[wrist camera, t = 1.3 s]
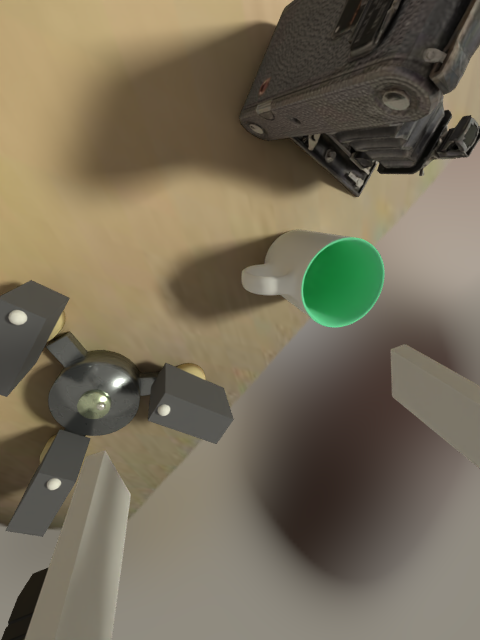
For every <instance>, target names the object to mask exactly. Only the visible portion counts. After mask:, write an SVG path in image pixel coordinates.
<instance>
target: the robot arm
mask: <svg viewBox="0 0 480 640" xmlns="http://www.w3.org/2000/svg"><path fill="white" fill-rule="evenodd" d="M391 373H392V397H394V398H395V399H396V400H397V401H398V402H400V403H401V404H402V405H403V406H404V407H406V408H407V409H408V410H409V411H410V412H412V413H413V414H414V415H415V416H417V417H418V418H419V419H420V420H421V421H423V422H424V423H425V424H426V425H427V426H428V427H430V428H431V429H432V430H433V431H435V432H436V433H437V434H438V435H439V436H441V437H442V438H443V439H444V440H445V441H447V442H448V443H449V444H450V445H451V446H453V447H454V448H455V449H456V450H458V451H459V452H460V453H461V454H462V455H463V456H465V457H466V458H467V459H468V460H470V461H471V462H472V463H473V464H474V465H476V466H477V467H478V468H479V469H480V386H479V385H477V384H475V383H473V382H471V381H470V380H468V379H466V378H464V377H462V376H461V375H459V374H457V373H456V372H454V371H452V370H450V369H448V368H447V367H445V366H443V365H441V364H440V363H437V362H436V361H434V360H432V359H431V358H429V357H427V356H425V355H423V354H422V353H420V352H418V351H416V350H414V349H413V348H411V347H409V346H407V345H406V344H405V345H402V346H399V347H396V348H393V349H391ZM130 497H131V494H130V492H129V491H128V489H127V487H126V485H125V484H124V482H123V480H122V479H121V477H120V475H119V473H118V472H117V470H116V468H115V466H114V465H113V463H112V461H111V460H110V458H109V456H108V454H107V453H106V451H105V450H104V451H101V452H98V453H95V454H93V455H90V456H87V457H86V458H85V461H84V464H83V467H82V470H81V473H80V476H79V479H78V482H77V485H76V488H75V491H74V494H73V497H72V500H71V503H70V506H69V509H68V512H67V515H66V518H65V521H64V524H63V527H62V530H61V533H60V536H59V539H58V542H57V545H56V548H55V551H54V553H53V556H52V560H51V563H50V565H49V568H46V569H44V570H41V571H39V572H36V573H34V574H33V575H32V576H31V578H30V579H29V581H28V582H27V584H26V585H25V587H24V589H23V590H22V592H21V593H20V595H19V596H18V598H17V601H16V603H15V606H14V608H13V611H12V614H11V616H10V619H9V621H8V624H9V625H8V627H6V629H5V631H4V634H3V637H2V639H1V640H111V639H112V632H113V625H114V617H115V609H116V602H117V593H118V587H119V579H120V572H121V563H122V557H123V549H124V541H125V533H126V527H127V519H128V512H129V504H130Z"/></svg>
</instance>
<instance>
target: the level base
mask: <svg viewBox="0 0 480 640" xmlns="http://www.w3.org/2000/svg"><path fill="white" fill-rule="evenodd" d="M46 348H47V349H48V350H49V351H50V352H51V353H52V354H53V355H54V356H55V357H56V358H57V359H58V360H59V361H60V363H61V364H62V365H63V366H64V369H63V371H62V372H61V374H60V375H59V377H58V378H57V380H56V381H55V383H54V384H53V386H52V388H51V390H50V393H49V397H48V403H49V408H50V411H51V413H52V415H53V417H54V418H55V420H56V421H57V422H58V423H59V424H61V425H62V426H63V427H65V430H64V431H67V432H70V433H74V434H77V435H80V436H84V437H85V436H86V435H90V436H97V435H105V434H109V433H112V432H115V431H117V430H119V429H121V428H123V427H124V426H126V425H127V424H128V423H129V422H130V421H131V420H132V419H133V418H134V416H135V414H136V413H137V410H138V407H139V401H140V396H142V395H150V392H151V386H152V384H153V383H154V381H155V379H156V378H157V376H158V374H159V373H160V372H149V373H140V372H139V370H138V369H137V367H136V366H135V365H134V363H133V362H132V361H130V360H129V359H128V358H126V357H125V356H123V355H121V354H118V353H115V352H111V351H105V350H96V351H90V352H87V351H86V350H85V348H84V347H83V346H82V345H81V344H80V343H79V341H78V340H77V339H76V338H75V337H74V336H73V334H72V333H71V332H68V333H66V334H64V335H62V336H60V337H59V338H57V339H55V340H53V341H51V342H50V343H49V344H48V345H47V346H46Z"/></svg>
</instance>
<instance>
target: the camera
mask: <svg viewBox="0 0 480 640" xmlns="http://www.w3.org/2000/svg"><path fill="white" fill-rule="evenodd" d="M479 45H480V0H294V1H293V2H291V3H290V4H289V5H288V6H286V7H285V8H284V10H283V12H282V14H281V17H280V19H279V22H278V24H277V26H276V29H275V31H274V34H273V36H272V39H271V41H270V43H269V46H268V48H267V51H266V53H265V55H264V58H263V60H262V63H261V65H260V67H259V70H258V72H257V75H256V77H255V80H254V82H253V84H252V87H251V89H250V92H249V94H248V96H247V99H246V101H245V104H244V106H243V109H242V111H241V113H240V116H239V119H240V122H241V125H242V126H243V127H244V128H245V129H246V130H247V131H248V132H250V133H251V134H253V135H254V136H256V137H258V138H261V139H264V140H268V141H269V140H277V139H284V138H290V139H292V140H293V141H294V142H295V143H296V144H297V145H298V146H299V147H301V148H302V149H303V150H304V151H305V152H306V153H307V154H309V155H310V156H311V157H312V158H313V159H314V160H315V161H317V162H318V163H319V164H320V165H321V166H322V167H323V168H325V169H326V170H327V171H328V172H329V173H330V174H331V175H333V176H334V177H335V178H336V179H337V180H338V181H339V182H341V183H342V184H343V185H344V186H345V187H346V188H347V189H349V190H350V191H351V192H352V193H353V194H354V195H355V196H357V197H359V196H360V194H361V192H362V190H363V188H364V187H365V185H366V183H367V181H368V179H369V178H370V176H371V174H372V172H373V170H374V168H375V167H376V165H377V164H378V162H379V163H380V164H379V167H378V170H377V171H378V172H379V173H380V174H414V173H416V172H417V171H419V170H420V174H419V176H423V175H424V171H423V168H424V167H426V166H427V165H428V164H429V163H430V162H431V161H432V160H434V159H456V158H460V157H469V155H470V154H471V152H472V150H473V149H474V147H475V146H476V144H477V143H478V141H479V139H480V126H478V123H477V122H476V121H475V120H474V118H472V117H471V115H470V116H464V117H462V119H461V120H460V122H459V123H458V124H457V126H456V127H455V128H452V129H449V131H447V128H448V127H447V124H448V123H449V121H450V119H451V117H452V114H451V112H450V111H449V110H445V111H444V108H443V94H444V95H445V94H447V93H449V92H451V91H452V90H453V89H455V88H456V86H457V84H458V82H459V81H460V79H461V77H462V76H463V74H464V72H465V70H466V67H467V65H468V63H469V60H470V58H471V57H472V55H473V54H474V52H475V51H476V50H477V48H478V47H479Z"/></svg>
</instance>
